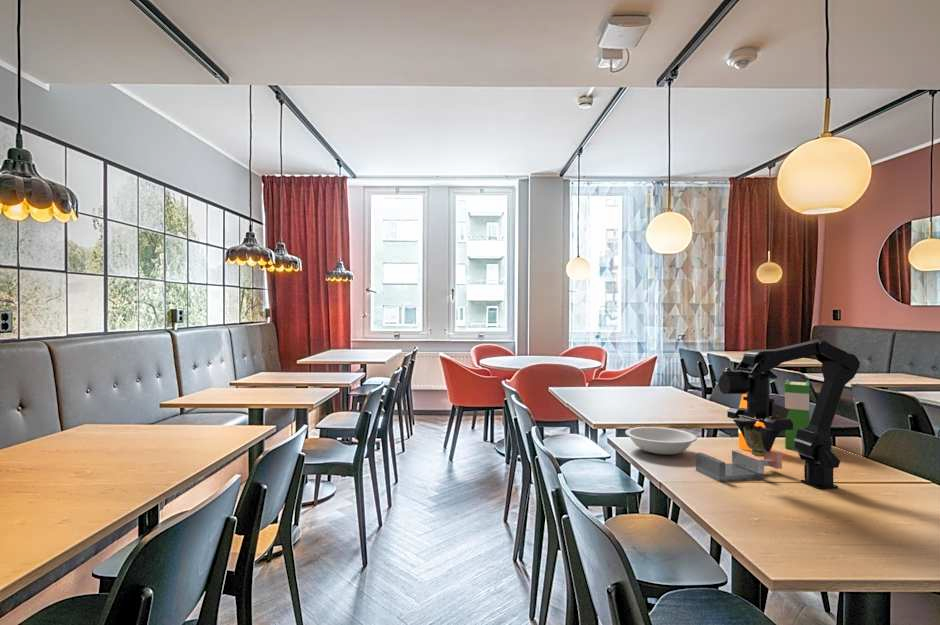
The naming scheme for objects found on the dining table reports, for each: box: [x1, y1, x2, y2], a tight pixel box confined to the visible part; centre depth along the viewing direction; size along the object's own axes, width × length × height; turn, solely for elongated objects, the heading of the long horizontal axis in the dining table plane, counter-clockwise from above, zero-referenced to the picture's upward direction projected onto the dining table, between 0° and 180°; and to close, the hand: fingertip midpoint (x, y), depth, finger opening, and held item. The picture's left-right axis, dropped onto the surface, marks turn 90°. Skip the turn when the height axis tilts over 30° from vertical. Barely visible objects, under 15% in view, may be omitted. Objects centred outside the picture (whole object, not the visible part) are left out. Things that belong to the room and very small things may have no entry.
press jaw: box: [731, 448, 783, 474], centre depth 150 cm, size 11×11×5 cm
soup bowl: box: [624, 426, 698, 455], centre depth 173 cm, size 24×24×7 cm
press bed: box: [695, 452, 765, 482], centre depth 148 cm, size 11×15×6 cm
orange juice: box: [738, 393, 773, 451], centre depth 177 cm, size 8×9×20 cm
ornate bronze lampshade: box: [743, 425, 766, 458], centre depth 137 cm, size 8×7×8 cm
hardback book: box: [784, 379, 811, 451], centre depth 183 cm, size 18×7×24 cm, turn 145°
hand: (758, 448), depth 137 cm, fingers closed on ornate bronze lampshade, 6 cm apart
